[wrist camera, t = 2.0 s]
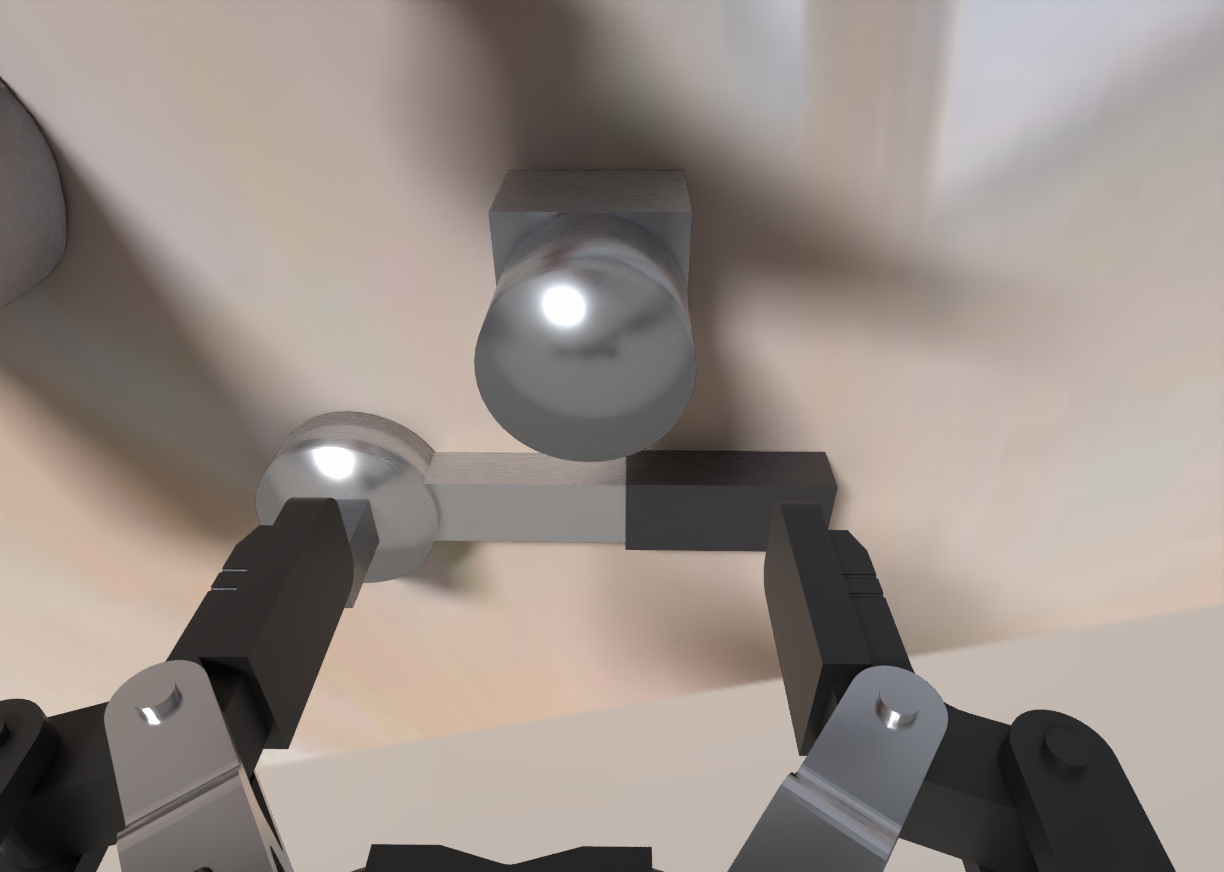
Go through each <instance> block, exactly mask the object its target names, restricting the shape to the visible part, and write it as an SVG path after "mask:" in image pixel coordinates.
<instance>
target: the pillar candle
mask: <svg viewBox="0 0 1224 872" xmlns="http://www.w3.org/2000/svg"><path fill="white" fill-rule="evenodd" d="M66 240H67V231H66V209H65V203H64V197H63V192H62V187H61V182H60V177H59V172H58V169H57V166H56V163H55V159H54V157H53V154H52V152H51V150H50V148H49V146H48V145H47V143H46V141H45V138H44V136H43V134H42V133H41V132H40V130H39V128H38V127H37V126H36V123H35V121H34V120H33V119H32V118H31V116H30V115H29V114H28V113H27V111H26V109H25V108H24V107H23V106H22V105H21V103H20V102H19V101H18V100H17V99H16V98H15V96H14V95H13V94H12V93H10V91H9V90H8V89H7V88H6V86H5V85H4V84H3V83H2V82H1V81H0V308H2V307H4V306H6V305H7V304H9V303H10V302H12V301H13V300H15V299H17V298H18V297H20V296H21V295H23V294H25V293H26V292H27V291H29V290H30V289H31V288H33V287H34V286H35V285H36V284H38V283H39V282H40V281H42V280H43V279H44V278H45V277H47V276H48V275H49V274H50V273H51V272H52V271H53V269H54V268H55V267H56V266H57V264H58V263H59V261H60V260H61V258H62V257H63V253H64V251H65V247H66Z"/></svg>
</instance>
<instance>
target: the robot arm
mask: <svg viewBox="0 0 1224 872" xmlns="http://www.w3.org/2000/svg"><path fill="white" fill-rule="evenodd" d="M222 569H223V571H222V573H221V572H220V573H219V574H218V576H217V578H216V579H215V581H214V583H213V584H212V586H211V591H208V592H207V594H206V596H205V597H204V599H203V601H202V602H201V604H200V606H199V607H198V609H197V611H196V612H195V614H194V616H193V617H192V619H191V621H190V622H189V624H188V625H187V627H186V629H185V630H184V632H183V634H182V635H181V637H180V639H179V640H178V642H177V644H176V645H175V647H174V649H173V650H172V652H171V654H170V655H169V657H168V658H167V660H166V661H165V662H163V663H159V664H156V665H154V666H151V667H149V668H147V669H145V670H143V671H141V672H139V673H137V674H136V675H134V676H133V677H131V678H130V679H129V680H128V681H126V682H125V683H124V684H123V685H122V686H121V687H120V688H119V689H118V690H117V691H116V692H115V694H114V695H113V696H112V698H111V699H110V701H108V702H105V703H102V704H98V705H94V706H90V707H86V708H82V709H78V710H75V711H71V712H67V713H63V714H59V715H55V716H51V717H47V716H46V715H45V714H44V712H43V711H42V710H41V708H40V707H39V706H38V705H37V704H36V703H34V702H32V701H30V700H25V699H8V700H3V701H0V872H96V871H97V869H98V867H99V865H100V863H101V861H102V858H103V857H104V855H105V853H106V851H107V849H108V846H111V845H115V844H117V849H118V855H119V860H120V865H121V870H122V872H294V870H293V868H292V866H291V863H290V861H289V858H288V855H287V853H286V850H285V847H284V844H283V842H282V839H281V836H280V834H279V831H278V828H277V826H276V823H275V820H274V818H273V815H272V812H271V810H270V807H269V804H268V802H267V799H266V796H265V794H264V791H263V788H262V786H261V783H260V780H259V778H258V776H257V773H256V771H255V767H256V765H257V762H258V760H259V758H260V755H261V753H262V750H263V749H288V748H289V746H290V743H291V741H292V738H293V736H294V733H295V731H296V728H297V726H298V723H299V721H300V718H301V715H302V713H303V710H304V708H305V705H306V703H307V700H308V698H309V695H310V693H311V690H312V688H313V685H314V683H315V680H316V678H317V675H318V673H319V670H320V668H321V665H322V663H323V660H324V657H325V655H326V652H327V650H328V647H329V645H330V642H331V640H332V637H333V635H334V632H335V630H336V627H337V625H338V622H339V620H340V617H341V615H342V612H343V610H344V607H345V605H346V602H347V599H348V597H349V594H350V592H351V589H352V585H353V578H354V561H353V555H352V552H351V548H350V545H349V541H348V538H347V534H346V530H345V527H344V523H343V520H342V516H341V513H340V509H339V506H338V503H337V501H336V500H335V499H334V498H319V497H292V498H290V499H288V500H287V501H286V503H285V504H284V506H283V508H282V510H281V511H280V513H279V515H278V517H277V518H276V520H275V522H274V524H273V525H259V526H258V527H257V528H256V529H255V530H253V531H252V532H251V533H250V534H249V535H248V536H246V537H245V538H244V539H243V540H242V541H241V542H239V543H238V544H237V545H236V546H235V548H234V550H233V551H232V553H231V554H230V556H229V558H228V559H227V561H226V563H225V564H224V566H223V568H222ZM764 587H765V595H766V600H767V605H768V610H769V614H770V619H771V624H772V629H773V633H774V638H775V643H776V648H777V652H778V657H779V662H780V667H781V671H782V676H783V681H784V685H785V690H786V695H787V699H788V704H789V709H790V714H791V719H792V724H793V728H794V733H795V738H796V742H797V747H798V752H799V756H807V757H806V759H805V760H804V762H803V764H802V765H801V767H800V768H799V770H798V771H797V772H796V773H795V774H794V773H793V772H792V773H790V774H789V775H788V776H787V777H786V779H785V780H784V781H783V783H782V784H781V786H780V787H779V789H778V790H777V792H776V794H775V795H774V797H773V798H772V800H771V802H770V803H769V805H768V807H767V808H766V810H765V811H764V813H763V815H762V816H761V818H760V819H759V821H758V823H757V824H756V826H755V828H754V830H753V831H752V832H751V834H750V836H749V838H748V839H747V841H746V842H745V844H744V846H743V847H742V849H741V850H740V852H739V854H738V855H737V857H736V859H735V860H734V862H733V863H732V865H731V867H730V868H729V870H728V871H727V872H883V871H884V868H885V866H886V864H887V862H888V860H889V857H890V855H891V853H892V851H893V848H894V846H895V844H896V842H897V840H898V838H901V839H904V840H907V841H910V842H913V843H916V844H919V845H922V846H925V847H928V848H931V849H934V850H936V851H939V852H942V853H945V854H948V855H951V856H954V857H957V858H960V859H962V861H963V864H964V867H965V871H966V872H1176V871H1175V869H1174V867H1173V865H1172V863H1171V861H1170V859H1169V857H1168V856H1167V854H1166V852H1165V850H1164V848H1163V846H1162V844H1161V842H1160V840H1159V838H1158V836H1157V834H1156V832H1155V830H1154V829H1153V827H1152V825H1151V823H1150V821H1149V819H1148V817H1147V815H1146V813H1145V811H1144V809H1143V807H1142V805H1141V804H1140V802H1139V800H1138V798H1137V796H1136V794H1135V792H1134V790H1133V788H1132V786H1131V784H1130V782H1129V780H1128V779H1127V777H1126V775H1125V773H1124V771H1123V769H1122V767H1121V765H1120V763H1119V761H1118V759H1117V757H1116V755H1115V754H1114V752H1113V751H1112V749H1111V748H1110V746H1109V745H1108V744H1107V743H1106V741H1105V740H1104V739H1103V738H1102V737H1101V736H1100V735H1099V734H1098V733H1096V732H1095V731H1094V730H1092V729H1091V728H1090V727H1088V726H1087V725H1085V724H1084V723H1082V722H1081V721H1079V720H1077V719H1075V718H1073V717H1071V716H1068V715H1066V714H1063V713H1060V712H1056V711H1051V710H1032V711H1027V712H1025V713H1023V714H1021V715H1020V716H1018V717H1017V718H1016V719H1015V720H1014V722H1013V723H1012V725H1008V724H1004V723H1001V722H998V721H994V720H990V719H987V718H984V717H980V716H976V715H973V714H970V713H967V712H964V711H961V710H958V709H956V708H954V707H952V706H950V705H948V704H946V703H945V702H943V700H942V698H941V696H940V695H939V694H938V692H937V691H936V690H935V689H934V688H933V687H932V686H931V685H930V684H929V683H928V682H927V681H925V680H923V678H921V677H919V676H918V675H916V674H915V673H914V670H913V669H912V667H911V664H910V661H909V658H908V656H907V653H906V651H905V648H904V645H903V643H902V640H901V638H900V635H899V632H898V630H897V627H896V625H895V622H894V619H893V617H892V614H891V612H890V609H889V606H888V604H887V601H886V599H885V598H884V597H883V591H882V588H881V585H880V583H879V580H878V579H876V572H875V570H874V567H873V565H872V562H871V559H870V557H869V554H868V552H867V550H866V549H865V548H864V547H863V546H862V545H861V544H860V543H859V542H858V541H857V540H856V539H855V537H854V536H853V535H852V534H851V533H850V532H849V531H848V530H828V528H827V525H826V522H825V519H824V516H823V513H822V510H821V507H820V505H819V503H818V502H776V503H775V505H774V508H773V513H772V519H771V525H770V531H769V537H768V543H767V550H766V556H765V562H764ZM352 872H663V871H660V870H657V869H654V868H652V847H592V846H590V847H589V846H582V847H578V848H575V849H571V850H567V851H563V852H560V853H556V854H552V855H548V856H544V857H540V858H537V859H533V860H529V861H525V862H521V863H518V864H512V865H507V864H501V863H498V862H495V861H491V860H488V859H485V858H481V857H478V856H475V855H472V854H468V853H465V852H462V851H459V850H455V849H452V848H449V847H445V846H442V845H389V844H386V845H385V844H372V845H371V849H370V852H369V856H368V860H367V864H366V867H364V868H360V869H357V870H354V871H352Z"/></svg>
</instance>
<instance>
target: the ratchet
mask: <svg viewBox="0 0 1224 872" xmlns="http://www.w3.org/2000/svg"><path fill="white" fill-rule="evenodd" d="M836 490H837V485H836V482H835V479H834V476H833V473H832V471H831V468H830V465H829V462H828V459H827V456H826V453H825V452H748V451H640V452H637V453H634V454H632V455H629V456H626V457H623V458H619V459H615V460H609V461H602V462H576V461H569V460H563V459H559V458H555V457H552V456H548V455H546V454H510V453H434V452H433V450H432V449H431V448H430V447H429V446H428V445H427V444H426V443H425V442H424V441H423V440H422V439H421V438H419V437H418V436H417V435H416V434H414V433H413V432H411V431H410V430H408V429H407V428H405V427H403V426H401V425H399V424H397V423H395V422H393V421H391V420H388V419H385V418H383V417H379V416H376V415H372V414H367V413H361V412H334V413H328V414H324V415H320V416H317V417H314V418H312V419H310V420H308V421H306V422H305V423H303V424H301V425H300V426H299V427H298V428H296V429H295V430H294V431H293V432H292V433H291V435H290V436H289V437H288V439H287V440H286V442H285V443H284V445H283V446H282V448H281V449H280V451H279V452H278V454H277V455H276V457H275V459H274V460H273V462H272V463H271V465H270V466H269V468H268V469H267V471H266V472H265V474H264V475H263V477H262V479H261V481H260V483H259V485H258V488H257V492H256V511H257V514H258V518H259V521H260V523H261V525H273V524H274V522H275V520H276V518H277V517H278V515H279V513H280V511H281V510H282V508H283V506H284V504H285V503H286V501H287V500H288V499H290V498H292V497H319V498H334V499H335V500H336V501H337V503H338V506H339V509H340V513H341V516H342V520H343V523H344V527H345V530H346V534H347V538H348V541H349V545H350V548H351V552H352V555H353V561H354V578H353V585H352V589H351V592H350V594H349V597H348V599H347V602H346V605H345V607H344V608H353V606H354V604H355V601H356V599H357V596H358V594H359V591H360V589H361V586H362V584H363V583H373V582H382V581H388V580H392V579H396V578H398V577H401V576H404V575H406V574H407V573H409V572H411V571H413V570H414V569H416V568H417V567H418V566H420V565H421V564H422V563H423V562H424V561H425V559H426V558H427V557H428V555H429V554H430V552H431V550H432V548H433V545H434V542H435V541H517V542H607V543H626V550H694V551H766V550H767V543H768V537H769V531H770V525H771V519H772V513H773V508H774V505H775V503H776V502H818V503H819V505H820V507H821V510H822V513H823V516H824V519H825V522H826V525H827V528H828V527H829V523H830V518H831V513H832V509H833V504H834V499H835V495H836Z"/></svg>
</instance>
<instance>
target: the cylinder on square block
mask: <svg viewBox="0 0 1224 872" xmlns="http://www.w3.org/2000/svg"><path fill="white" fill-rule="evenodd" d="M489 219H490V229H491V238H492V248H493V258H494V267H495V277H496V286H497V287H496V290H495V293H494V295H493V298H492V301H491V304H490V306H489V309H488V312H487V315H486V317H485V320H484V323H483V326H482V328H481V331H480V334H479V337H478V341H477V345H476V349H475V360H474V363H475V376H476V380H477V385H478V388H479V391H480V394H481V397H482V399H483V401H484V403H485V405H486V406H487V408H488V410H489V411H490V413H491V414H492V416H493V417H494V418H495V420H496V421H497V422H498V423H499V424H500V425H501V426H502V427H503V428H504V429H505V430H506V431H507V432H508V433H509V434H510V435H512V436H513V437H514V438H515V439H517V440H518V441H520V442H521V443H523V444H524V445H526V446H528V447H530V448H532V449H534V450H536V451H538V452H541V453H543V454H546V455H548V456H552V457H555V458H559V459H563V460H569V461H576V462H602V461H609V460H615V459H619V458H623V457H626V456H629V455H632V454H634V453H637V452H640V451H641V450H643V449H645V448H647V447H649V446H651V445H652V444H654V443H655V442H657V441H658V440H660V439H661V438H662V437H663V436H664V435H666V434H667V433H668V432H669V431H670V430H671V429H672V428H673V427H674V426H675V424H676V423H677V422H678V421H679V419H680V418H681V416H682V415H683V413H684V412H685V410H686V408H687V406H688V404H689V402H690V400H691V396H692V393H693V390H694V386H695V379H696V359H695V352H694V345H693V337H692V330H691V323H690V315H689V308H688V301H687V294H688V276H689V258H690V239H691V221H692V210H691V204H690V199H689V194H688V189H687V183H686V178H685V173H684V170H509V171H508V173H507V175H506V177H505V179H504V181H503V183H502V185H501V188H500V190H499V192H498V194H497V196H496V198H495V200H494V202H493V204H492V206H491V208H490V211H489Z"/></svg>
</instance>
